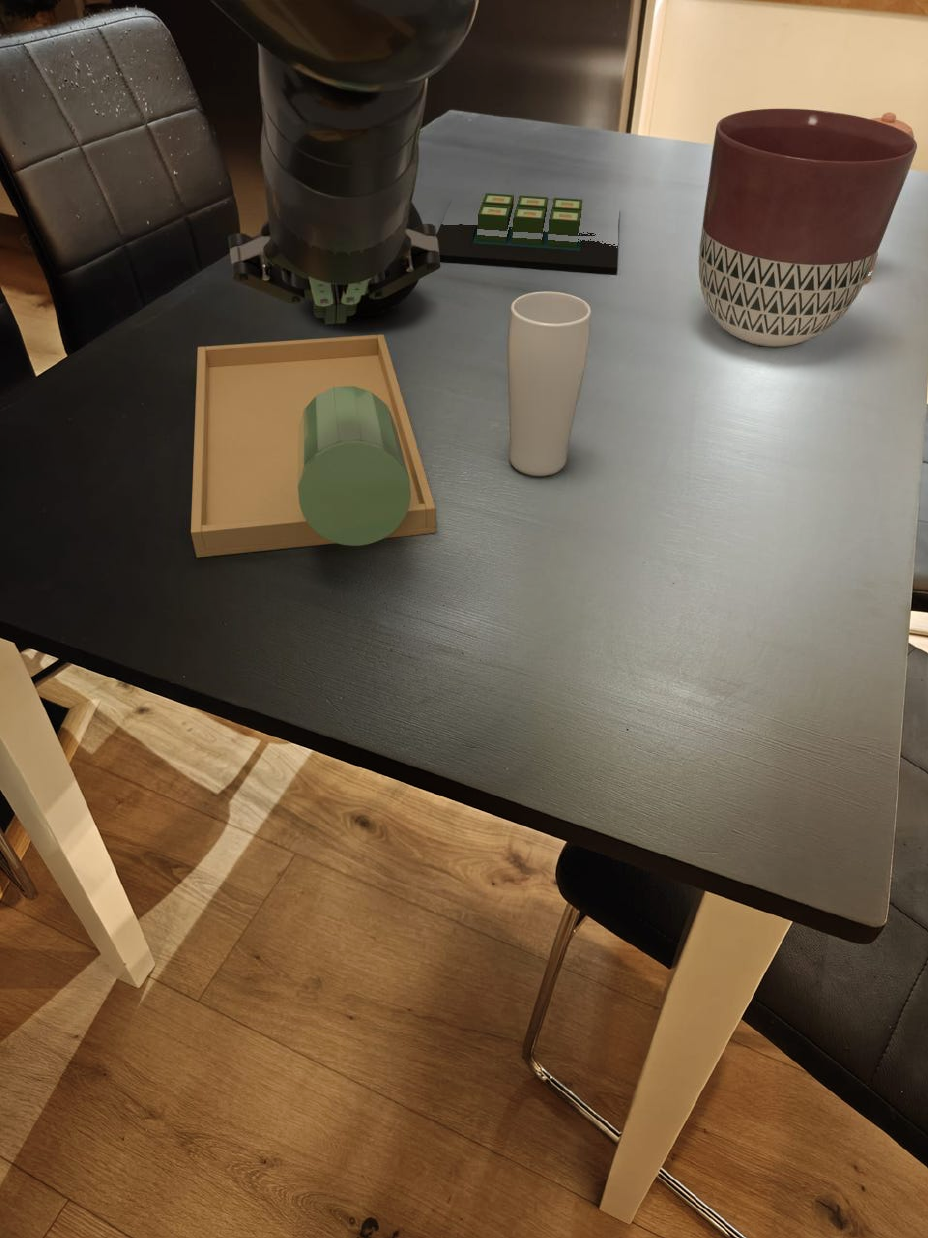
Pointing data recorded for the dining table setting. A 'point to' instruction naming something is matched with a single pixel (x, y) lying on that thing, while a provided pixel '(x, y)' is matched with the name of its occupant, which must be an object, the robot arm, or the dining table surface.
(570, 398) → the drinking glass
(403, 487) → the green cup
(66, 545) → the dining table surface
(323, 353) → the tray
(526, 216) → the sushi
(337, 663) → the dining table surface
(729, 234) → the planter
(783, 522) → the dining table surface
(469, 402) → the dining table surface
